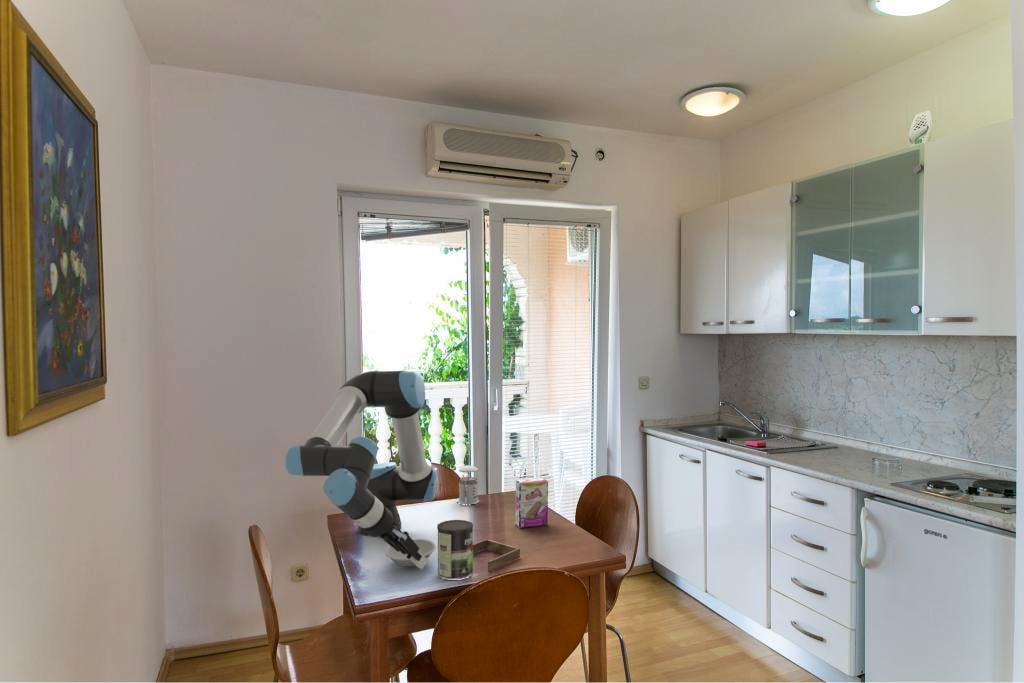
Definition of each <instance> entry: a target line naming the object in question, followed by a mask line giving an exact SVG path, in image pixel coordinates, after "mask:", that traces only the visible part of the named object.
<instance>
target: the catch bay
mask: <svg viewBox="0 0 1024 683" xmlns="http://www.w3.org/2000/svg"><path fill="white" fill-rule="evenodd" d="M485 549H486V550H487V549H488V551H491V552H494V553H497V552H498V553H497V554H501V555H499V556H498V557H494V558H492V559H490V560H488V561H487V571H488V572H487V573H492V572H493V570H494V571H496V570H497V569H500V568H502V567H504V566H506V565H505V564H507V565H508V563H509V564H511V563H513V562H515V561H517V560H519V559H518V558H520V559H521V548H519V547H516V546H513V545H509V544H505V543H503V542H502V543H501V542H499V541H494V540H491V539H488V538H484V539H483V540H480V541H477V542H474V543H473V555H475V554H474V553H476V554H478V553H480V552H479V551H481V552H483V551H485ZM482 550H483V551H482ZM477 552H478V553H477ZM516 559H517V560H516ZM514 560H515V561H514ZM512 561H513V562H512ZM510 562H511V563H510Z"/></svg>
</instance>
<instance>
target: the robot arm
mask: <svg viewBox="0 0 1024 683" xmlns="http://www.w3.org/2000/svg"><path fill="white" fill-rule="evenodd" d="M425 390H426V386H425V381H424V379H423V376H422V375H421V372H418V371H417V370H413V369H412V370H410V369H401V370H393V369H392V370H391V369H390V370H389V369H388V370H387V369H385V370H384V369H382V370H381V369H380V370H379V369H378V370H377V369H370V370H366V371H363V372H360V373H358V374H356V375H354V376H353V377H352V378H350V379H349V380H347V381H346V382H345V383H344V384H342V386H341V387H340V388H339V389H338V390H337V392H336V394H335V401H334V402H333V403H332V405H331V406H330V408H329V409H328V411H327V412H326V413H325V415H324V416H323V418H322V419H321V420H320V422H319V424H318V425H317V426H316V428H315V429H314V431H313V432H312V433H311V434H310V436H309V438H307V440H306V441H305V443H304V444H303V445H302V444H298V445H292V446H290V447H289V448H288V449H287V452H286V455H285V462H284V464H285V467H286V469H285V470H286V471H287V472H288V473H289V475H291V476H302V477H328V478H327V479H325V481H324V484H323V486H322V488H323V489H322V491H323V493H324V494H325V496H326V497H327V498H328V499H329V501H330V502H331V503H332V504H333V505H334V506H336V507H337V508H338V509H339V510H340V511H341V512H343V513H344V514H345V515H347V516H348V518H349V519H351V520H352V521H353V525H354V526H357V532H358V533H359V534H360V535H363V536H366V537H371V538H378V537H379V538H380V539H381V540H382V541H384V542H385V543H387V544H388V545H389V546H391V547H393V548H394V549H395V550H396V551H398V552H399V551H400V552H401V553H402V554H406V556H407V557H406V558H408V559H410V560H411V561H412V562H413V563H414V564H415V565H414V566H416V567H417V568H418V569H421V570H422V569H424V567H425V565H426V564H427V562H428V558H427V559H426V558H425V557H424V556H423V555H422V554H421V553H420V552H419V551H418V550H419V547H418V546H417V545H416V543H415V542H414V541H413V540H412V539H413V538H412V537H411V536H410V534H409V532H408V531H405V530H404V531H402V520H401V517H400V514H399V510H398V508H397V502H419V503H423V502H431V501H433V500H434V499H435V497H436V493H437V490H438V489H437V488H438V482H439V481H438V480H439V469H438V467H432V462H431V461H430V460H429V459H428V458H427V457H426V452H425V445H424V440H423V435H422V430H421V428H422V427H421V423H420V418H419V413H420V410H421V409H422V407H423V406H424V404H425V401H426V391H425ZM373 407H374V408H384V411H385V412H384V413H385V414H386V416H388V417H389V418H390V419H391V421H392V428H393V431H394V437H395V442H396V445H397V451H398V456H399V460H400V465H399V466H398V464H397V463H396V462H394V461H393V462H392V461H387V462H380V463H376V461H377V454H378V450H379V449H378V445H377V443H376V442H375V441H374V440H373V439H371V438H369V437H366V436H357V437H355V438H352V439H351V440H350V442H349V443H348V445H339V444H340V443H341V441H342V440H343V438H344V436H346V433H347V432H348V430H349V429H350V426H351V425H352V423H353V422H354V420H355V418H356V417H357V416H358V414H361V413H362V412H363V411H365V409H366V408H373Z"/></svg>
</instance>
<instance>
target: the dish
mask: <svg viewBox="0 0 1024 683" xmlns="http://www.w3.org/2000/svg"><path fill="white" fill-rule="evenodd" d="M411 539H412V540H413V541H414V542H415V543H416V545H417V546H418V547H419V550H418V551H419V552H420V553H421V554H422V555H423V556H424V557H425V558H426V559H427V560H428V558H429V557H430V556H431V555H432V553H434V552H435V550H436V548H437V546H436V543H435V542H433V541H432V540H430V539H423V538H411ZM385 556H386V557H387V558H389V560H391V561H392V562H393V563H395V564H396V565H399V566H403V567H413V566H416V565H415V564H414V563H413V562H412V561H411V560H410V559H408V558H406V557H407V556H406V554H402V553H401V552H400V551H399V552H398V551H396V550H395V549H394V548H393V547H391V546H390V545H389V546H388V547H387V548H386V550H385Z"/></svg>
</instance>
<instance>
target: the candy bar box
mask: <svg viewBox="0 0 1024 683" xmlns="http://www.w3.org/2000/svg"><path fill="white" fill-rule="evenodd" d="M548 495H549V481H548V480H547V479H545V478H527V479H517V480H515V518H514V520H515V521H514V522H515V526H516V527H518V528H519V529H525V528H533V527H535V528H536V527H544V525H546V526H548V520H549V519H548V518H549V517H548V516H549V515H548V514H549V512H548V509H549V506H548V505H549V496H548Z"/></svg>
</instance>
